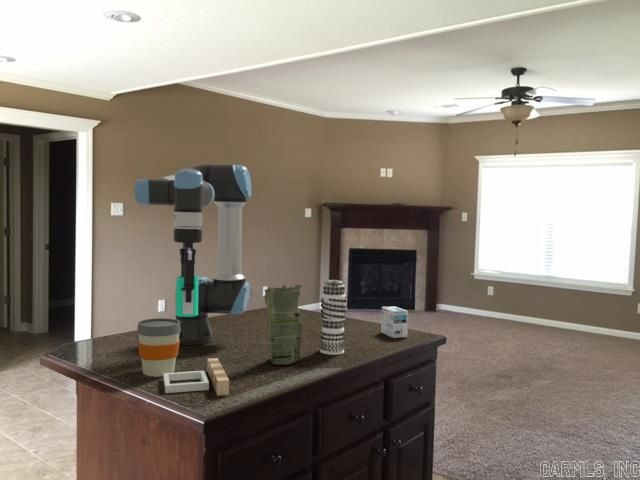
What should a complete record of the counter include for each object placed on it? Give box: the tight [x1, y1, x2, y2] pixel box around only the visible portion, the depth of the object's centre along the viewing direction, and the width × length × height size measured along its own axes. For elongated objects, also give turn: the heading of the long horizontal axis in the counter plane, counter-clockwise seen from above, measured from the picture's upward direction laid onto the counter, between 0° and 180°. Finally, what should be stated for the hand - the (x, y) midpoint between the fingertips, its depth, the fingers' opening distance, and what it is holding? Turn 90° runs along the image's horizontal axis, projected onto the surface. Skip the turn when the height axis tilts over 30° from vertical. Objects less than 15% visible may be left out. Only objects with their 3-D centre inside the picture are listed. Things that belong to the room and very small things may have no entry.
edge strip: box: [206, 357, 230, 397], centre depth 157 cm, size 22×3×4 cm, turn 18°
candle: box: [175, 275, 199, 317], centre depth 153 cm, size 6×6×12 cm
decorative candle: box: [319, 279, 348, 356], centre depth 194 cm, size 9×9×25 cm
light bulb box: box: [380, 305, 409, 339], centre depth 223 cm, size 11×7×11 cm, turn 22°
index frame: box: [162, 370, 210, 394], centre depth 154 cm, size 11×11×2 cm
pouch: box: [264, 284, 303, 366], centre depth 180 cm, size 11×12×25 cm
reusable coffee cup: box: [136, 317, 181, 378], centre depth 165 cm, size 13×13×15 cm
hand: (186, 311), depth 153 cm, fingers closed on candle, 5 cm apart
